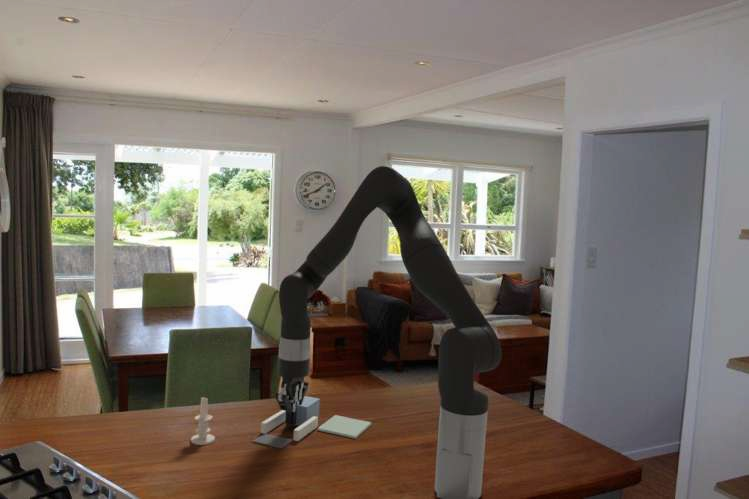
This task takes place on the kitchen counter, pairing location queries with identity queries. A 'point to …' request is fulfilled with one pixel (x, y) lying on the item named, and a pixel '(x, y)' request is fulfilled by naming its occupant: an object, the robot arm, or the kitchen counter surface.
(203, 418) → the white ringed tapered column
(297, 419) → the block
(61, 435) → the kitchen counter surface
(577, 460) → the kitchen counter surface
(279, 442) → the channel
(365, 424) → the tile
